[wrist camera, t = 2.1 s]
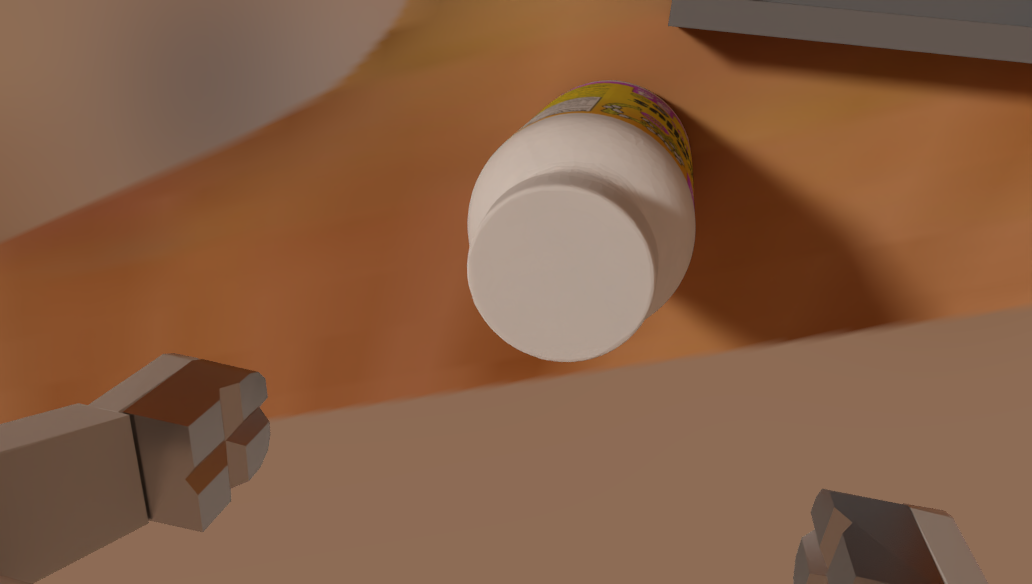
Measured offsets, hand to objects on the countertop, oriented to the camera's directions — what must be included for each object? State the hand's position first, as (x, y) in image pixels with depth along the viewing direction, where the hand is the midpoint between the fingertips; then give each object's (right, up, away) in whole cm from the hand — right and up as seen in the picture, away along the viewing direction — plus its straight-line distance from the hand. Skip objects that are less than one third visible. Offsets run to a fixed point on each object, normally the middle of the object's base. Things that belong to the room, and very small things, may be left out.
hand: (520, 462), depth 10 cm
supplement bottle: (+4, +8, +18) cm, 20 cm away
